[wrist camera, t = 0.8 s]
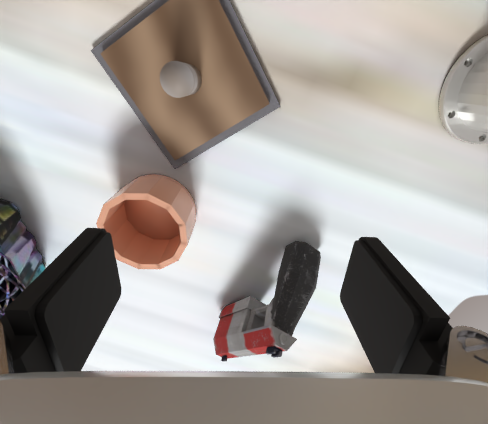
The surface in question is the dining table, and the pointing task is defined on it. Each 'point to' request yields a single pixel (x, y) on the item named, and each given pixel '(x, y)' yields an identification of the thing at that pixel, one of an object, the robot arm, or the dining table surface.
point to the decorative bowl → (16, 256)
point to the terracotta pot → (149, 221)
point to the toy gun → (270, 309)
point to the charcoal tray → (250, 55)
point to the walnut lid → (186, 73)
